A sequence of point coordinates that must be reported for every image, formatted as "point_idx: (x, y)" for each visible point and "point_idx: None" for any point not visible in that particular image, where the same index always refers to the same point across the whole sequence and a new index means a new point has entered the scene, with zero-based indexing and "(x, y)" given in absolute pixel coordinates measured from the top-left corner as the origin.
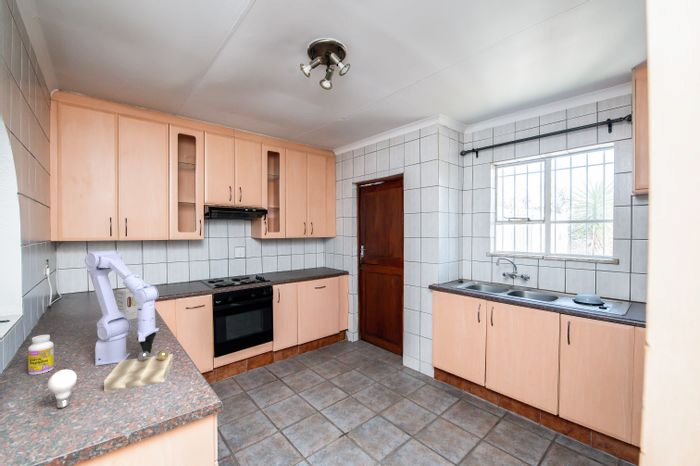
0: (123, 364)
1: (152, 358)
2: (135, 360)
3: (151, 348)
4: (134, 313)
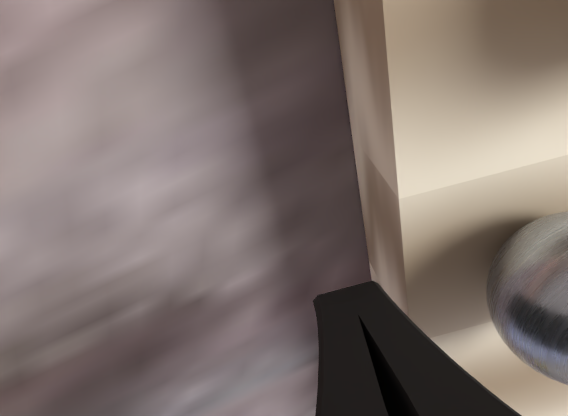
0: (550, 388)
1: (496, 159)
2: (482, 341)
3: (338, 339)
4: None
